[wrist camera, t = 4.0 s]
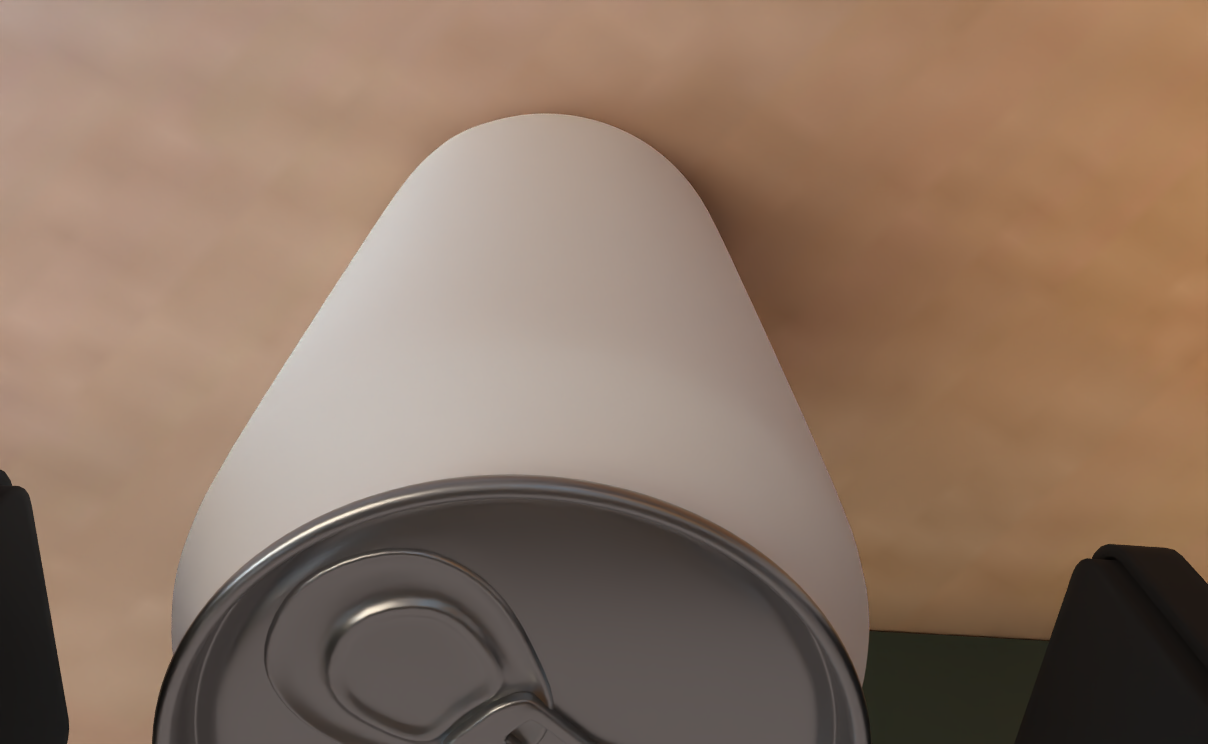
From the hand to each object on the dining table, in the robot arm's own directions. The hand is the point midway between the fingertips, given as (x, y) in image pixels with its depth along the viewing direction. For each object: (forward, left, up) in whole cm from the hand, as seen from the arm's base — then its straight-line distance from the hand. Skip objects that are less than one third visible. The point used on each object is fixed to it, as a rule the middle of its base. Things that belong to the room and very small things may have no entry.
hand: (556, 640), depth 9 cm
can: (0, 0, -11) cm, 11 cm away
